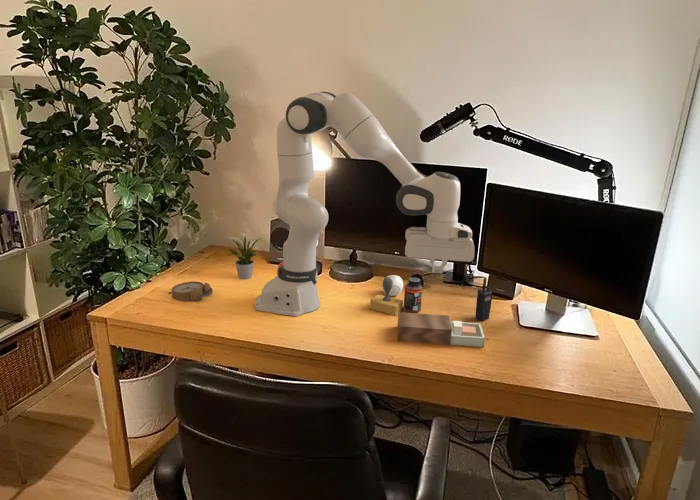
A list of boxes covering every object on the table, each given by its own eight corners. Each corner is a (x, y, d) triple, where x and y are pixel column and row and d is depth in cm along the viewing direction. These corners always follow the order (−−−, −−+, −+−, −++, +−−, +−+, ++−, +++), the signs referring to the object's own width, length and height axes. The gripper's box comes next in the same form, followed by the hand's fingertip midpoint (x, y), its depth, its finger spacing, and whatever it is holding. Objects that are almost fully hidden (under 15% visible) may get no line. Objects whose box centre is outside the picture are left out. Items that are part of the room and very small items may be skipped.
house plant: (253, 267, 221) (251, 228, 215) (272, 276, 211) (271, 237, 206) (222, 274, 211) (220, 235, 206) (240, 285, 202) (239, 243, 197)
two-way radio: (479, 322, 178) (484, 280, 173) (470, 317, 182) (474, 275, 177) (491, 318, 181) (496, 277, 176) (481, 313, 185) (486, 273, 180)
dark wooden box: (397, 341, 164) (398, 326, 162) (397, 326, 173) (398, 312, 172) (450, 344, 163) (451, 329, 161) (447, 329, 172) (448, 315, 171)
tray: (450, 344, 163) (451, 335, 162) (447, 329, 172) (448, 321, 171) (483, 347, 162) (484, 338, 161) (479, 331, 172) (480, 323, 171)
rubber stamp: (402, 310, 186) (404, 277, 182) (395, 316, 181) (398, 283, 177) (376, 303, 190) (378, 271, 186) (369, 309, 185) (370, 277, 182)
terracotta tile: (476, 332, 164) (475, 340, 165) (475, 327, 168) (474, 334, 169) (462, 331, 165) (461, 338, 165) (462, 325, 168) (461, 332, 169)
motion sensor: (386, 289, 203) (387, 270, 200) (405, 293, 200) (407, 273, 197) (378, 296, 196) (379, 276, 193) (397, 301, 193) (399, 280, 190)
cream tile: (454, 326, 165) (462, 326, 164) (453, 320, 168) (461, 321, 168) (452, 337, 166) (461, 338, 166) (452, 332, 170) (460, 332, 169)
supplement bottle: (420, 314, 183) (422, 283, 179) (402, 312, 184) (404, 281, 180) (421, 307, 188) (423, 277, 185) (404, 305, 189) (406, 275, 186)
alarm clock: (183, 280, 198) (218, 279, 192) (186, 293, 199) (220, 292, 194) (163, 291, 187) (200, 290, 182) (167, 304, 189) (203, 304, 183)
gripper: (406, 229, 155) (402, 273, 159) (477, 233, 154) (472, 278, 158) (405, 223, 161) (402, 266, 165) (474, 227, 160) (469, 271, 164)
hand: (437, 272), depth 162 cm, fingers closed
